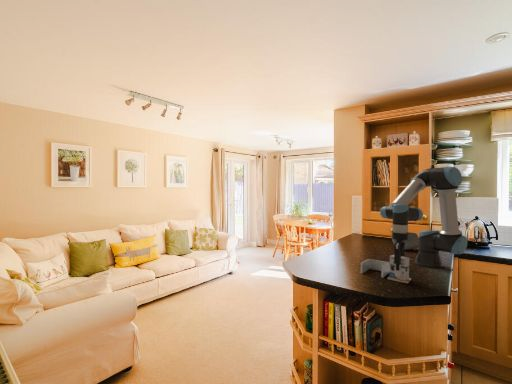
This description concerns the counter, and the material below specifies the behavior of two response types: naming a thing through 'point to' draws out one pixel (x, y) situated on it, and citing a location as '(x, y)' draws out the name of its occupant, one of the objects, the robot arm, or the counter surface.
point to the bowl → (410, 241)
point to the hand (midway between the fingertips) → (399, 274)
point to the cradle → (375, 266)
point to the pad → (399, 280)
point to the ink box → (403, 268)
